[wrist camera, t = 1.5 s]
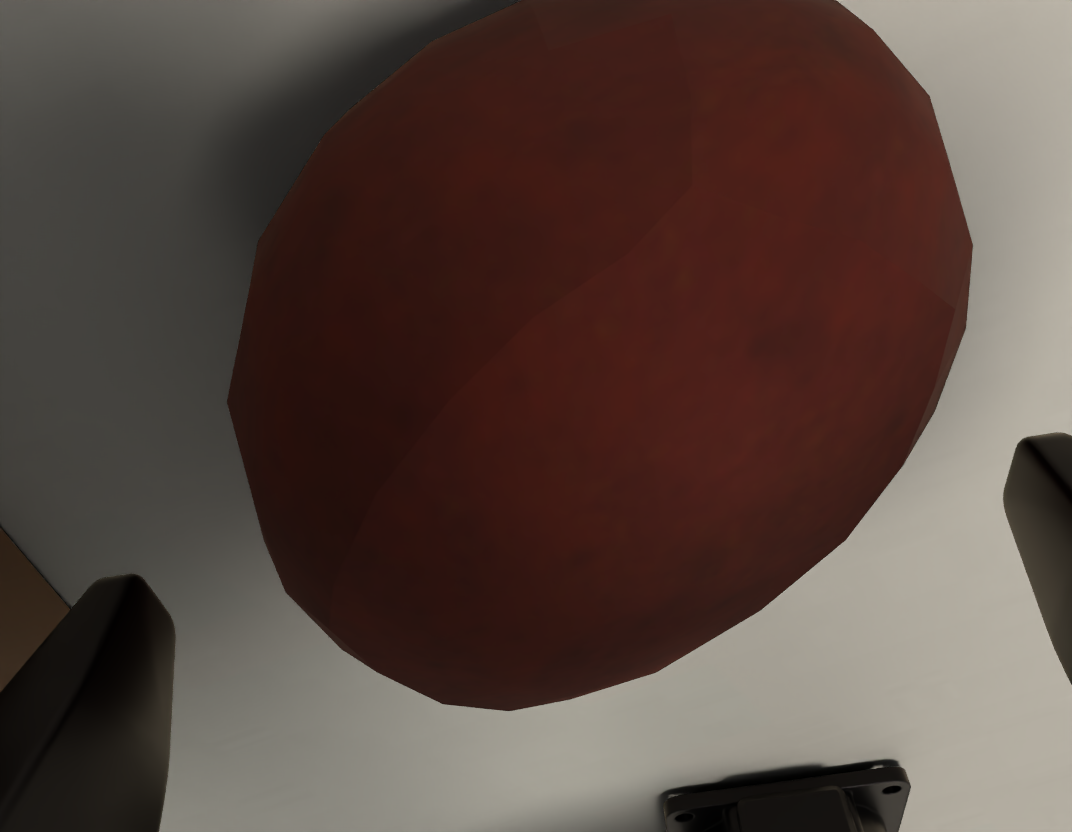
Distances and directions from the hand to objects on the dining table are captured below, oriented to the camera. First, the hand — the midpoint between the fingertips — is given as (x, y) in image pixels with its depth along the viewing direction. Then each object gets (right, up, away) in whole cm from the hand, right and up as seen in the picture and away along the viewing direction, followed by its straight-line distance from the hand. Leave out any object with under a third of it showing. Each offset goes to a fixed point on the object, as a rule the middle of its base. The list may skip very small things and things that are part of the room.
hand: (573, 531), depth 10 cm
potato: (0, +4, +4) cm, 5 cm away
